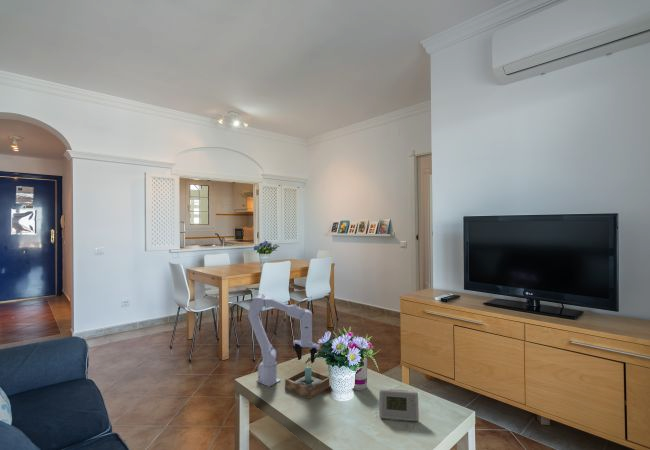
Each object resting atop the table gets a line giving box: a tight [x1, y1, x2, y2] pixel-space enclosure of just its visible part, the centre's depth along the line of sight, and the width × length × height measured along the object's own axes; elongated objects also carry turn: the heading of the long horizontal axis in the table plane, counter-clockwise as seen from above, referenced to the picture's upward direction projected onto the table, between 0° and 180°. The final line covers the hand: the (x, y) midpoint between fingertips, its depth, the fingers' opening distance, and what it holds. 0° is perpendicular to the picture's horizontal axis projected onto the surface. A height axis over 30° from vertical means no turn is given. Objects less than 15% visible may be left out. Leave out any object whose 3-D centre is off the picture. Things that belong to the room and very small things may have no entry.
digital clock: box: [378, 388, 420, 422], centre depth 141 cm, size 16×9×11 cm, turn 71°
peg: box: [304, 366, 313, 384], centre depth 165 cm, size 3×3×9 cm
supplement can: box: [353, 357, 368, 391], centre depth 166 cm, size 8×8×15 cm
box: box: [284, 368, 330, 400], centre depth 165 cm, size 16×16×4 cm
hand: (306, 360), depth 171 cm, fingers open, 7 cm apart
